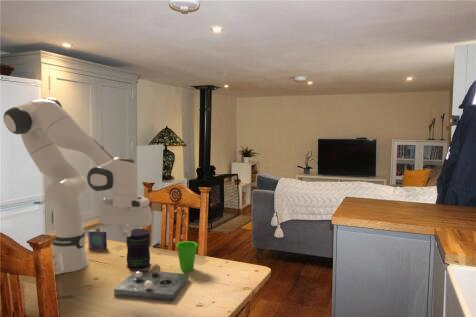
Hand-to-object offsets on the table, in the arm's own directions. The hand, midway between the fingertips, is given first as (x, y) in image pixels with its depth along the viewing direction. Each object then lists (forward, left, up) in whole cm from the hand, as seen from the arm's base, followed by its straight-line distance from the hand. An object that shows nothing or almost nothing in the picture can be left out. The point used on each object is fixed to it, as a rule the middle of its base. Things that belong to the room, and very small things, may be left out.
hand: (125, 236), depth 138 cm
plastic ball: (+12, -7, -15) cm, 20 cm away
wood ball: (+9, +6, -15) cm, 18 cm away
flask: (-33, +35, -19) cm, 52 cm away
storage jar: (-4, +19, -19) cm, 27 cm away
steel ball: (+5, 0, -15) cm, 16 cm away
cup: (+18, +19, -19) cm, 33 cm away
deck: (+11, 0, -19) cm, 22 cm away
